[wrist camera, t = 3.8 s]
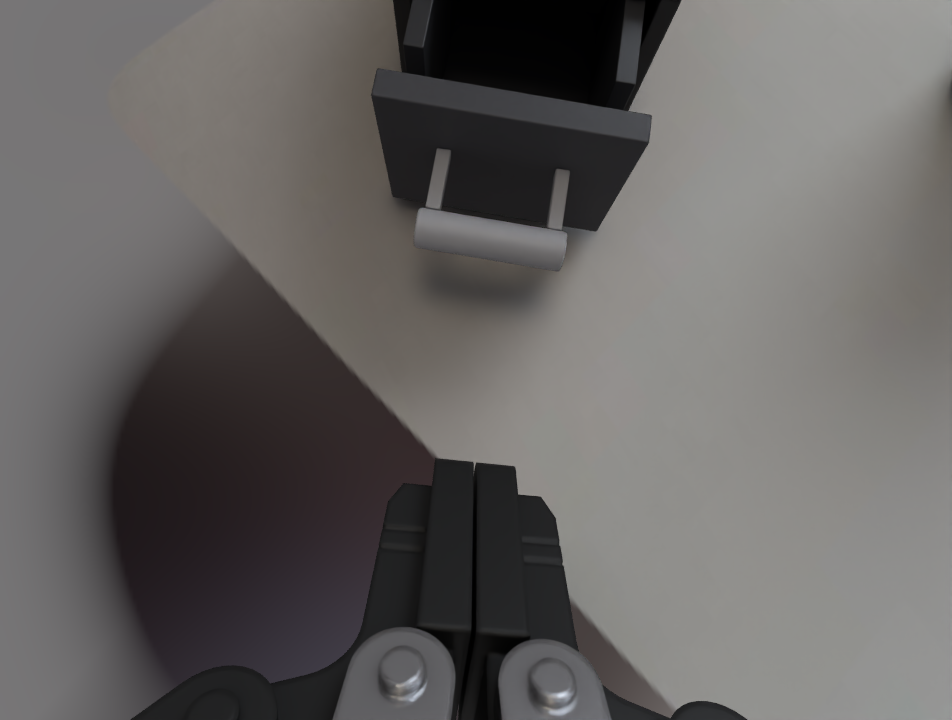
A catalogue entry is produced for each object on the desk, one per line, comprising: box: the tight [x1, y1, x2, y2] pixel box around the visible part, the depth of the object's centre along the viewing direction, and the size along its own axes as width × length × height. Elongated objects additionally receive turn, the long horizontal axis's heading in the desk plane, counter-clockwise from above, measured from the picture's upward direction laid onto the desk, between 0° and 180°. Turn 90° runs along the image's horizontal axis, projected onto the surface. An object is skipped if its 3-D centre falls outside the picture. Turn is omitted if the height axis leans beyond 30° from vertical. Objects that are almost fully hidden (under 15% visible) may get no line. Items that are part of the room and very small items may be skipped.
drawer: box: [371, 0, 652, 271], centre depth 25 cm, size 17×10×8 cm, turn 171°
